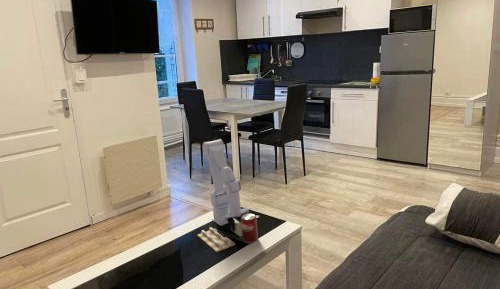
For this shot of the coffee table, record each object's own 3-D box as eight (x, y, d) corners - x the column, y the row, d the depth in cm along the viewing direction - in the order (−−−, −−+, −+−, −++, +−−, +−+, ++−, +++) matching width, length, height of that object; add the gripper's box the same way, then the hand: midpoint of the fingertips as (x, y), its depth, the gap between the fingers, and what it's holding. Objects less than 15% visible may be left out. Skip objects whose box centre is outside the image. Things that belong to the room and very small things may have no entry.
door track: (197, 236, 183) (197, 231, 182) (215, 229, 188) (214, 225, 188) (216, 252, 166) (215, 247, 166) (235, 244, 172) (234, 240, 171)
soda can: (252, 245, 170) (249, 221, 167) (239, 241, 174) (237, 218, 172) (261, 238, 176) (259, 215, 173) (249, 234, 180) (247, 212, 177)
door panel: (230, 230, 187) (229, 219, 185) (234, 228, 188) (233, 218, 186) (240, 236, 179) (239, 225, 178) (243, 235, 180) (242, 224, 179)
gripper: (225, 210, 173) (228, 237, 176) (251, 202, 180) (253, 227, 183) (218, 206, 179) (221, 231, 182) (243, 198, 186) (245, 223, 189)
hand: (236, 229), depth 183 cm, fingers open, 4 cm apart
